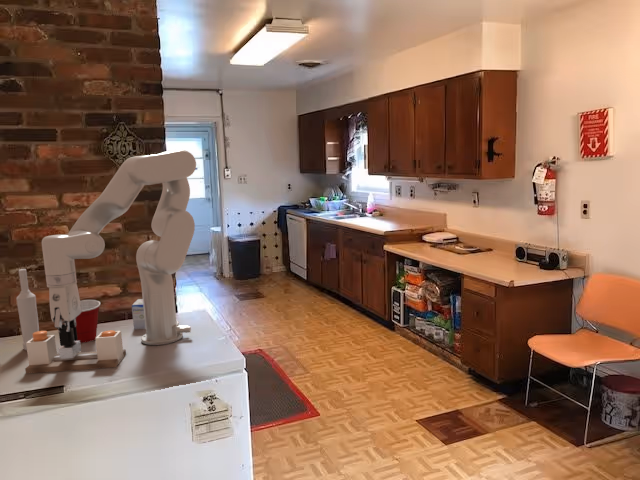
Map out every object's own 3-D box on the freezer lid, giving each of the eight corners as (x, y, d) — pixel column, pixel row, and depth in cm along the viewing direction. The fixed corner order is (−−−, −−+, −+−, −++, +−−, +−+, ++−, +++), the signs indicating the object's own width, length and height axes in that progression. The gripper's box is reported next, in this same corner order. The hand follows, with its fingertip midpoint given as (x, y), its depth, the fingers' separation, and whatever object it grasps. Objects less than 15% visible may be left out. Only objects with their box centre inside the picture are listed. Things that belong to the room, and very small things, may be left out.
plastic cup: (67, 348, 163) (62, 310, 161) (68, 338, 173) (64, 302, 171) (105, 342, 167) (101, 305, 166) (103, 332, 177) (100, 297, 175)
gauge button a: (117, 336, 151) (116, 329, 151) (113, 340, 148) (112, 334, 147) (104, 337, 151) (103, 330, 151) (100, 341, 147) (99, 334, 147)
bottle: (29, 351, 162) (18, 272, 158) (19, 349, 164) (9, 270, 161) (45, 346, 166) (35, 268, 162) (36, 343, 169) (26, 267, 165)
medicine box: (139, 322, 187) (137, 299, 185) (152, 321, 187) (150, 298, 186) (133, 329, 179) (131, 305, 178) (147, 328, 179) (144, 304, 178)
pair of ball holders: (123, 357, 153) (120, 330, 152) (118, 364, 148) (115, 336, 147) (38, 363, 152) (35, 336, 150) (29, 370, 146) (26, 342, 145)
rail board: (126, 354, 155) (125, 346, 155) (115, 367, 146) (114, 358, 145) (42, 360, 154) (41, 351, 153) (25, 373, 144) (24, 364, 144)
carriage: (81, 350, 152) (78, 325, 151) (73, 358, 146) (70, 332, 145) (68, 351, 152) (65, 326, 151) (59, 358, 146) (56, 333, 145)
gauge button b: (50, 337, 150) (49, 330, 149) (44, 341, 146) (43, 334, 146) (36, 337, 150) (36, 331, 149) (31, 342, 146) (30, 335, 146)
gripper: (63, 285, 138) (72, 352, 141) (85, 272, 154) (92, 332, 157) (34, 287, 138) (42, 354, 140) (59, 274, 154) (66, 334, 156)
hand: (69, 342), depth 149 cm, fingers closed on carriage, 2 cm apart
